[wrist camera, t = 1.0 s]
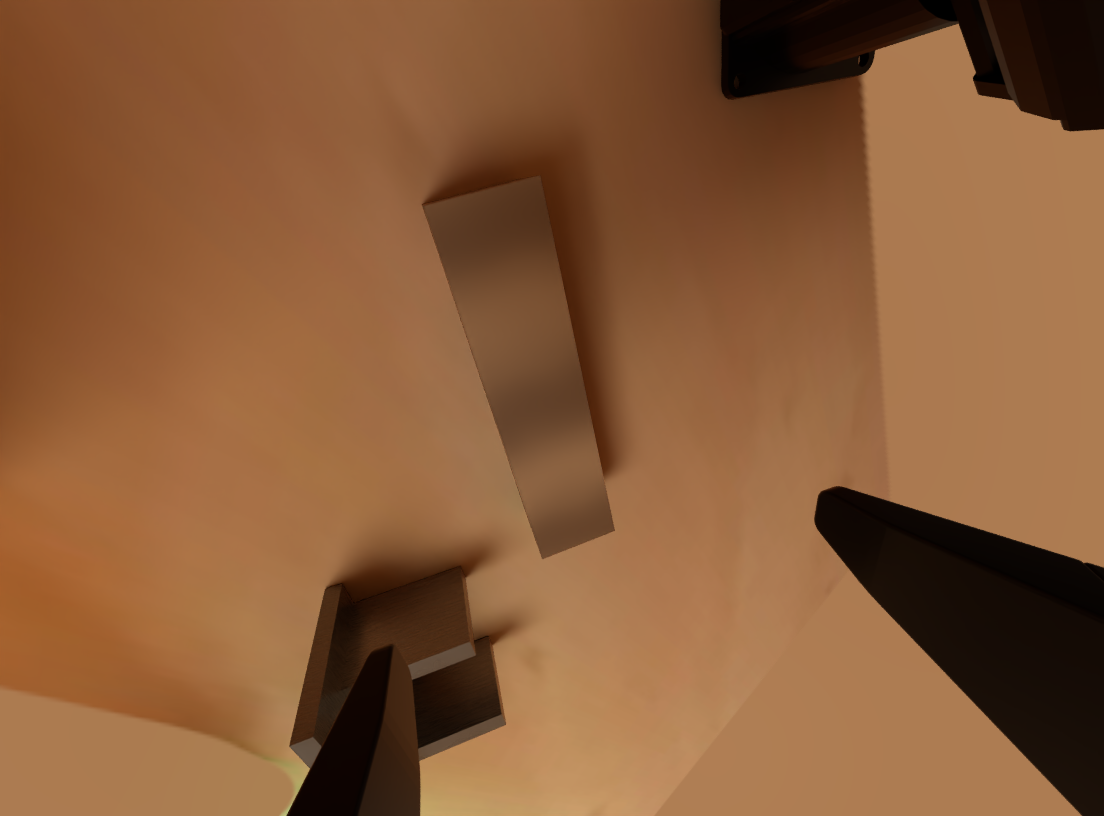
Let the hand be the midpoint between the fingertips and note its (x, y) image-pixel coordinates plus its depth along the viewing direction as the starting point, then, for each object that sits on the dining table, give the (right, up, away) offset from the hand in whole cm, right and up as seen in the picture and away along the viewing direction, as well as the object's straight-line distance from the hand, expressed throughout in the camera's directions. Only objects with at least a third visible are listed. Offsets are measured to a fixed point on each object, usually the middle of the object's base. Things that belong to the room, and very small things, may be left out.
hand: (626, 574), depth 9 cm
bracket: (-9, -9, +15) cm, 20 cm away
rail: (-3, +5, +11) cm, 12 cm away
